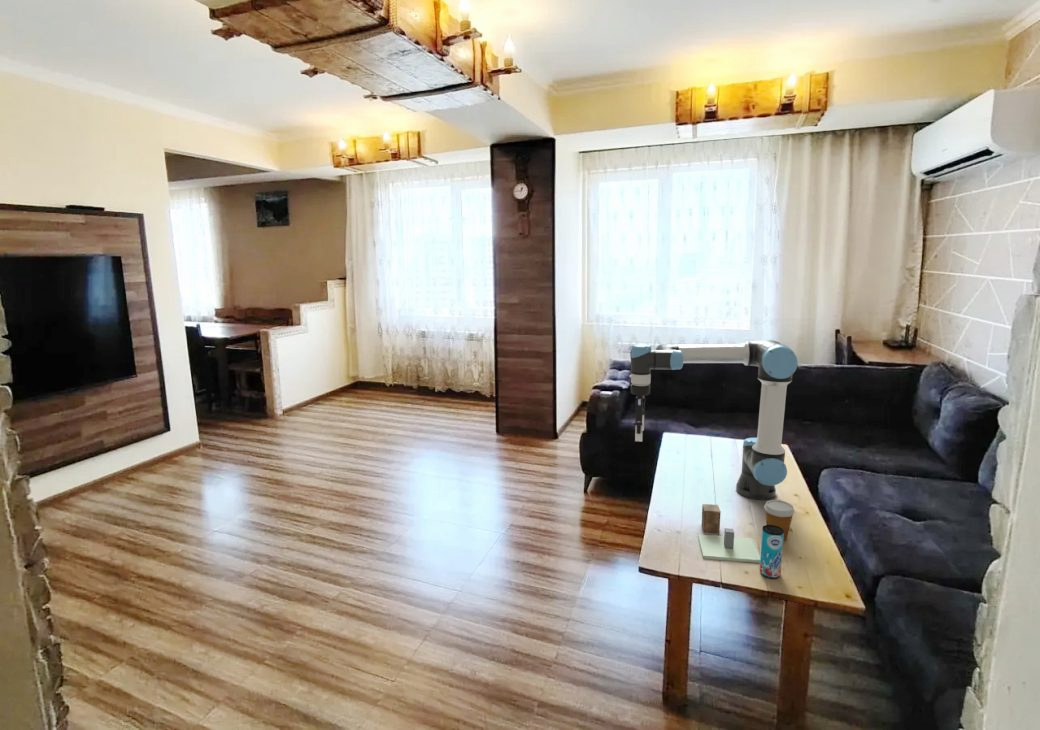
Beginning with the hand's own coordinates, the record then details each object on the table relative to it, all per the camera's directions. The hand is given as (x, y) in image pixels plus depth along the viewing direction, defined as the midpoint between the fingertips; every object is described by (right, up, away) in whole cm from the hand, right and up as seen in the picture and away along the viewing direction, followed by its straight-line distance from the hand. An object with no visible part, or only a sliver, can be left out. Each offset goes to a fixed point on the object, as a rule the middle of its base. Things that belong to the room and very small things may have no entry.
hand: (639, 435), depth 215 cm
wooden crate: (+21, -31, -21) cm, 43 cm away
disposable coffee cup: (+42, -32, -27) cm, 60 cm away
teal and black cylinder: (+30, -37, -48) cm, 68 cm away
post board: (+22, -34, -34) cm, 53 cm away
